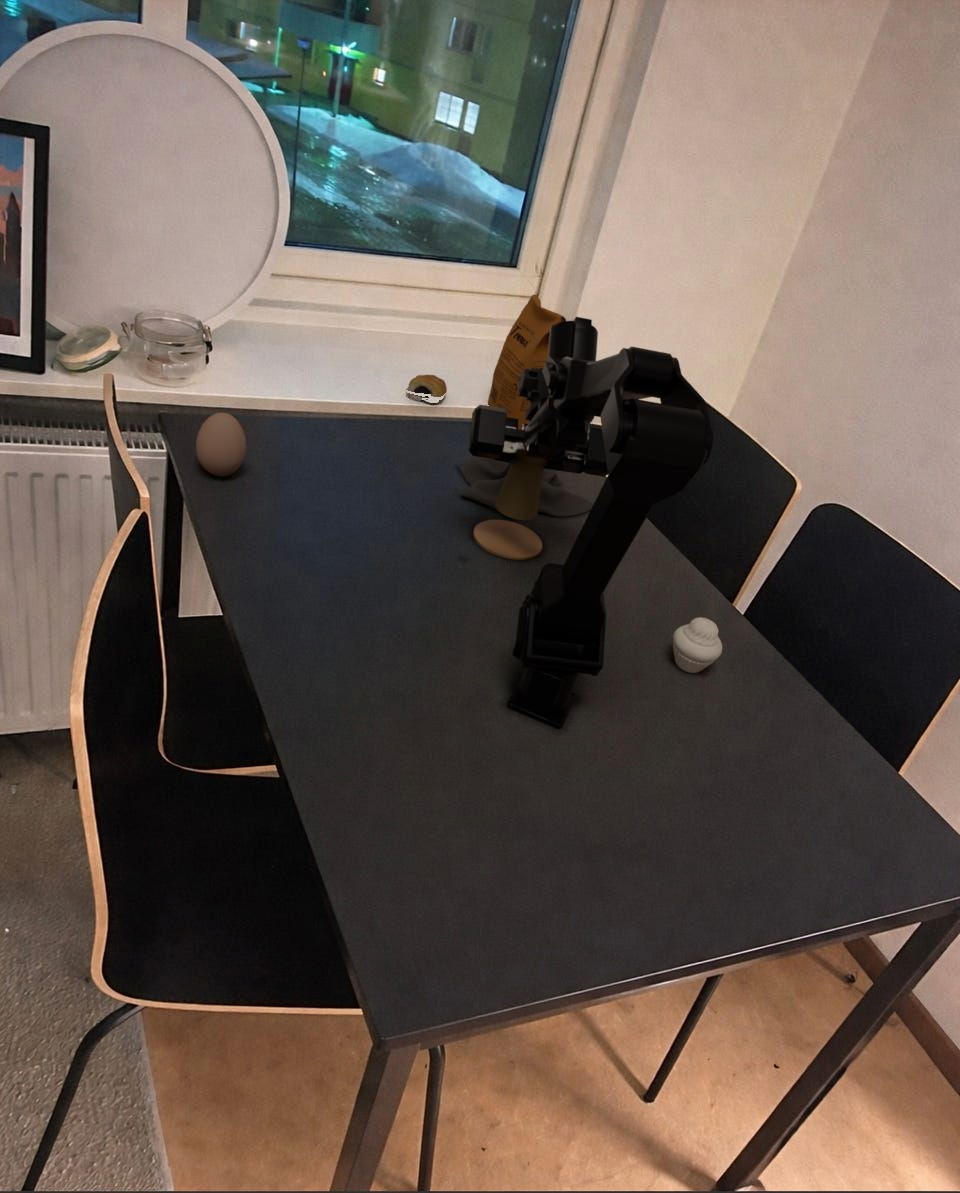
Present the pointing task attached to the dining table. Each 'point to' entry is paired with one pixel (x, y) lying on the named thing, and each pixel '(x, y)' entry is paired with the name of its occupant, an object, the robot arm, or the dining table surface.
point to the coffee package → (522, 357)
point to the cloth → (491, 476)
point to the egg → (221, 444)
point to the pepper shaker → (521, 488)
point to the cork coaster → (507, 539)
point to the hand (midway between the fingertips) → (526, 462)
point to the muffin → (696, 645)
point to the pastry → (426, 387)
